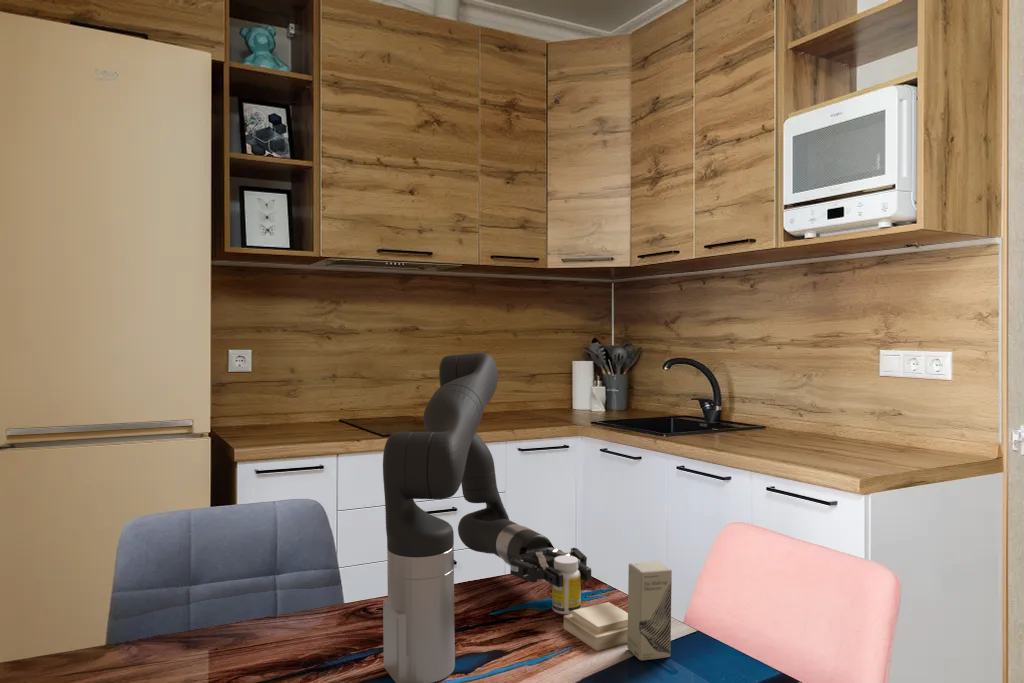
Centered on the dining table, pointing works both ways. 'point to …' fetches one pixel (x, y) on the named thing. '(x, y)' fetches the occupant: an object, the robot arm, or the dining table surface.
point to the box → (649, 610)
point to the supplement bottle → (567, 585)
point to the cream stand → (598, 625)
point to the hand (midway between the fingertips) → (575, 578)
